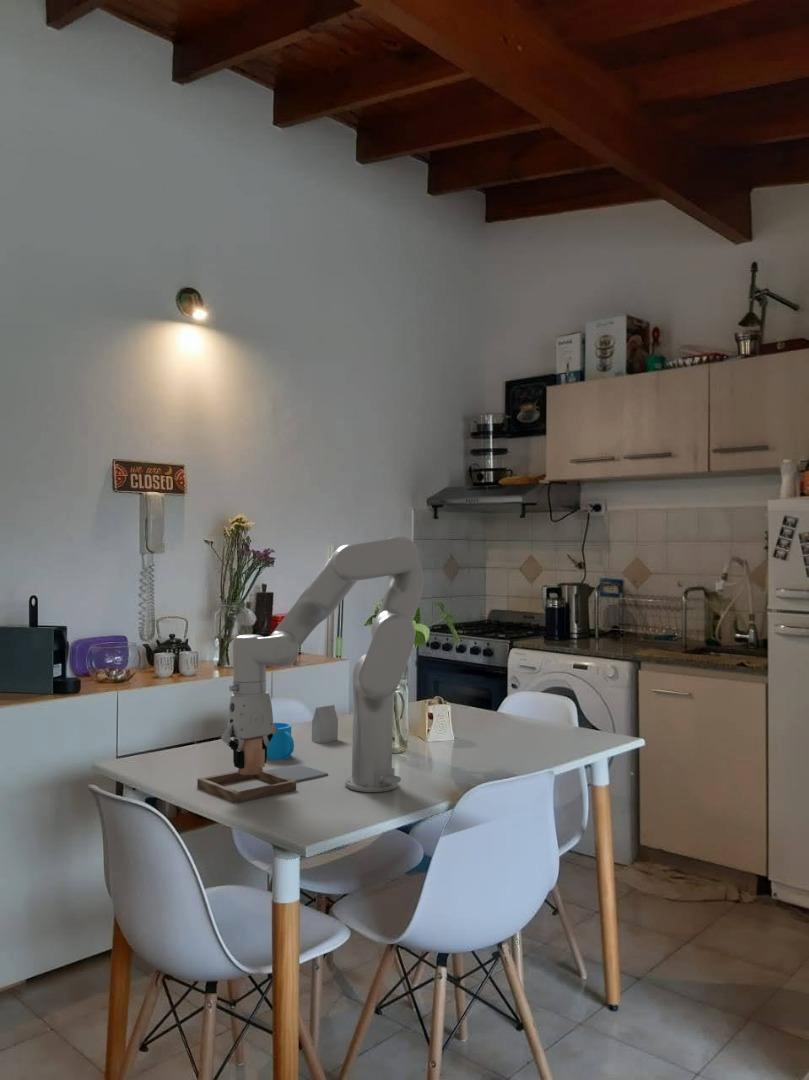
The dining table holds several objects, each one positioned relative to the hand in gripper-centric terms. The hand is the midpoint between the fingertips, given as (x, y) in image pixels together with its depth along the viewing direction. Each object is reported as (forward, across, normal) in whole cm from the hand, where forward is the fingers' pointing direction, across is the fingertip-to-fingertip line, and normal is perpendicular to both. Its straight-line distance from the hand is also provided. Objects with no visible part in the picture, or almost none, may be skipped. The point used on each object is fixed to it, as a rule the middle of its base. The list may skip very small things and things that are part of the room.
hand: (250, 764), depth 209 cm
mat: (+6, +15, +4) cm, 17 cm away
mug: (+6, +23, +20) cm, 32 cm away
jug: (+2, 0, -1) cm, 2 cm away
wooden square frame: (+6, -1, 0) cm, 6 cm away
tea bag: (+6, +45, +29) cm, 54 cm away
